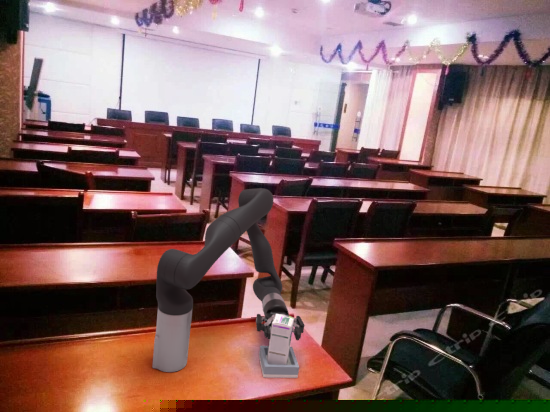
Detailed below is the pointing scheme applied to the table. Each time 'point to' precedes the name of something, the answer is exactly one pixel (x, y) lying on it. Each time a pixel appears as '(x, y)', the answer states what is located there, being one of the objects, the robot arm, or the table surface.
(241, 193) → the robot arm
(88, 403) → the table surface
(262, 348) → the collar plate
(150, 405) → the table surface
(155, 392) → the table surface
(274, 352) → the syrup box
